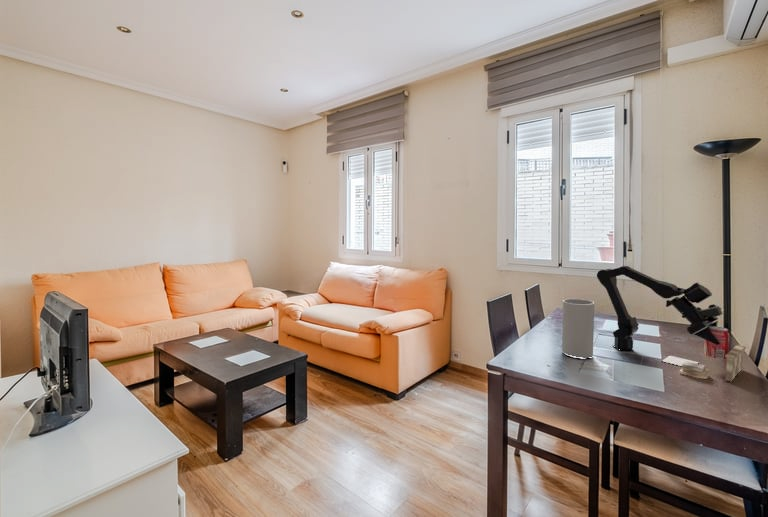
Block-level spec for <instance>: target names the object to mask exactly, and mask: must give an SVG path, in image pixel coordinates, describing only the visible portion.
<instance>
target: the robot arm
mask: <svg viewBox="0 0 768 517" xmlns="http://www.w3.org/2000/svg"><path fill="white" fill-rule="evenodd" d="M619 276H625V277H627V278H628V279H631V280H633V281H635V282H638V283H639V284H641V285H643V286H646V288H647V287H648V288H649V289H651V290H652V291H653V293H655V294H656V295H658V296H659V297H661V298H662V299H665V300H666V303H665V307H666V308H669V307H671V306H673V308H674V309H675V310H676V311H677V312H679V313H680V314H681V317H682V318H683V319H685V320H687V321H688V323H690V324H689V326H687V327H686V331H687V332H688V333H689V335H693V336H697V337H699V338H701V339H704V340H705V339H706V340H708V341H710V342H712V343H714V344H716V345H719V344H720V342H719V341H718V340H717V338H716V337H715V336H714V335H713V333H712V332H711V331H710V328H711V326H717V327H718V324H719V318H718V317H719V316H721V315H723V311H722V308H721V307H720V306H719V305H716V304H710V305H708V307H706V308H703V309H702V308H701V307H699V306H695V305H694V303H695V304H699V303H701V302H703V301H705V300H706V299H708V298H710V297H712V296H713V293H712V292H711V291H710V290H709V289H708V288H707V287H705V286H704V285H702V284H700V283H699V282H695V283H693V284H692V285H691V286H690V287H688V288H682V287H678V286H677V284H673V283H671V282H667V281H662V280H659V279H655V278H653V277H651V276H649V275H647V274H645V273H643V272H640V271H638V270H636V269H635V268H632V267H630V266H629V265H623V266H620V267H617V268H604V269H600V270H598V271H597V273H596V278H597V280H598V281H599V283H600V284H601V285H602V286H603V287H604V289H606V292H607V294H608V297H609V300H610V302H611V304H612V306H613V309H614V311H615V314H616V316H617V328H618V329H617V328H616V330H614V331H613V332H612V335H613V338H614V343H613V345H614V346H615V347H616V348H617V349H618V350H617V349H616V348H615V349H616V350H617V351H619V349H620V350H630V351H629V352H634V351H635V350H634V340H633V337H632V336H633V335H634V334H635V333H637V332H638V330H639V326H640V324H639V323H638V321H637V318H636V316H631V315H630V314H629V312H628V309H627V307H626V305H625V302H624V299H623V298H622V294H621V293H620V291H619V288H618V285H617V283H618V282H617V281H618V279H617V277H619ZM679 296H681V297H679ZM673 297H674V298H673ZM671 298H672V299H671ZM670 299H671V300H670Z"/></svg>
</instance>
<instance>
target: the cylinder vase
mask: <svg viewBox="0 0 768 517" xmlns="http://www.w3.org/2000/svg"><path fill="white" fill-rule="evenodd" d="M561 322H562V324H561V326H562V327H561V328H562V329H561V330H562V331H561V334H562V335H561V352H562V351H563V352H564V353H566V354H568V355H572V356H576V357H583V358H589V357H592V356H594V336H595V335H594V334H595V333H594V329H595V328H594V327H595V323H594V322H595V302H594V301H593V300H588V299H581V298H566V299H563V300H562V321H561ZM592 358H593V357H592Z"/></svg>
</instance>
